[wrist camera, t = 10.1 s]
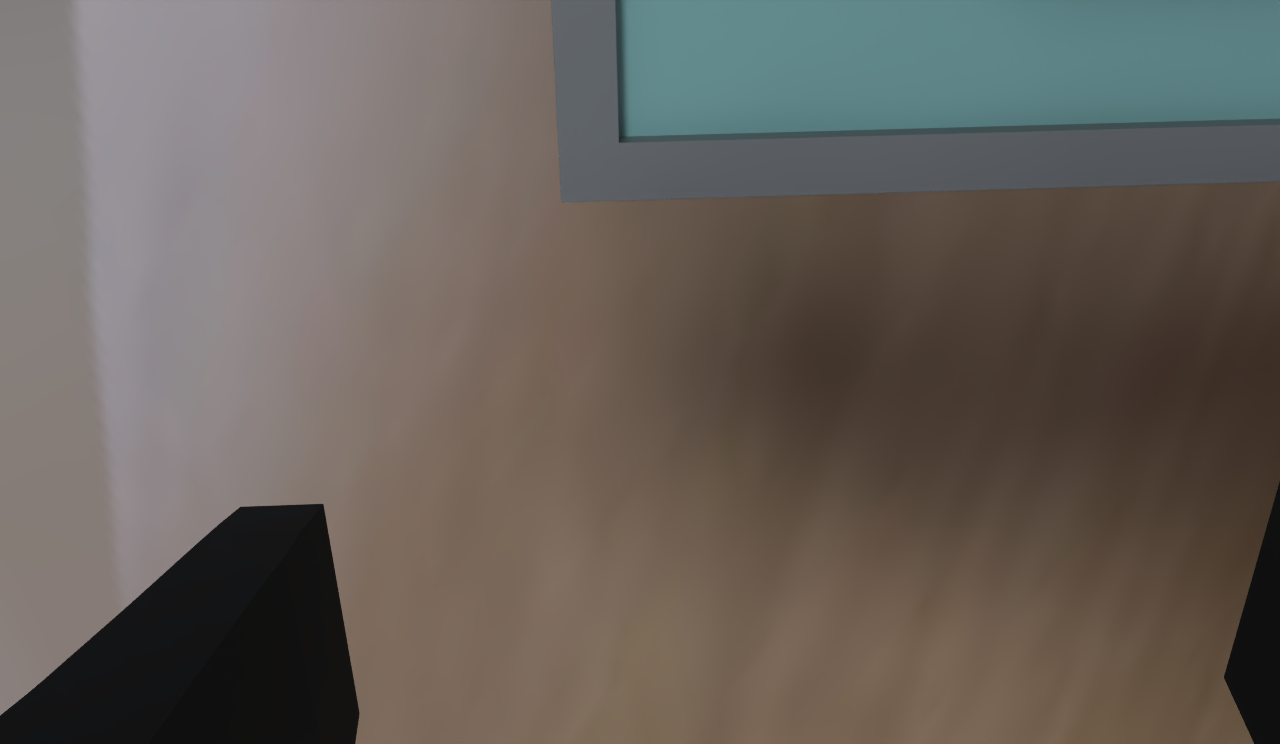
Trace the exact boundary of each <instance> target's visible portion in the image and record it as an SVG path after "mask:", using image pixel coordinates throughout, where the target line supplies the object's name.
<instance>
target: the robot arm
mask: <svg viewBox="0 0 1280 744" xmlns="http://www.w3.org/2000/svg"><path fill="white" fill-rule="evenodd" d="M1224 679H1225V681H1226V683H1227V685H1228V687H1229V690H1230V692H1231V694H1232V696H1233V698H1234V701H1235V703H1236V705H1237V707H1238V709H1239V711H1240V714H1241V716H1242V718H1243V720H1244V722H1245V725H1246V727H1247V729H1248V731H1249V733H1250V735H1251V738H1252V740H1253V742H1254V744H1280V483H1279V486H1278V490H1277V493H1276V497H1275V500H1274V504H1273V507H1272V511H1271V514H1270V518H1269V521H1268V525H1267V528H1266V532H1265V535H1264V539H1263V542H1262V546H1261V549H1260V553H1259V556H1258V560H1257V563H1256V567H1255V570H1254V574H1253V577H1252V581H1251V584H1250V588H1249V591H1248V595H1247V598H1246V602H1245V605H1244V609H1243V612H1242V616H1241V619H1240V623H1239V626H1238V630H1237V633H1236V637H1235V640H1234V644H1233V647H1232V651H1231V654H1230V658H1229V661H1228V665H1227V668H1226V672H1225V675H1224ZM358 720H359V708H358V702H357V696H356V691H355V685H354V679H353V673H352V667H351V662H350V656H349V650H348V644H347V638H346V633H345V627H344V621H343V615H342V610H341V604H340V598H339V592H338V586H337V581H336V575H335V569H334V563H333V557H332V552H331V546H330V540H329V534H328V528H327V523H326V517H325V511H324V505H323V504H308V505H280V506H253V507H240V508H239V509H237V510H236V511H235V512H234V513H232V514H231V515H230V516H229V517H227V518H226V519H225V520H224V521H223V522H221V523H220V524H219V525H218V526H217V527H216V528H214V529H213V530H212V531H211V532H210V533H209V534H208V535H206V536H205V537H204V538H203V539H202V540H201V541H200V542H199V543H197V544H196V545H195V546H194V547H193V548H192V549H191V550H190V551H188V552H187V553H186V554H185V555H184V556H183V557H182V558H181V559H180V560H178V561H177V562H176V563H175V564H174V565H173V566H172V567H171V568H170V569H169V570H167V571H166V572H165V573H164V574H163V575H162V576H161V577H160V578H159V579H157V580H156V581H155V582H154V583H153V584H152V585H151V586H150V587H149V588H147V589H146V590H145V591H144V592H143V593H142V594H141V595H140V596H139V597H137V598H136V599H135V600H134V601H133V602H132V603H131V604H130V605H129V606H127V607H126V608H125V609H124V610H123V611H122V612H121V613H120V614H118V615H117V616H116V617H115V618H114V619H113V620H112V621H110V622H109V623H108V624H107V625H106V626H105V627H104V628H102V629H101V630H100V631H99V632H98V633H97V634H96V635H94V636H93V637H92V638H91V639H90V640H89V641H88V642H86V643H85V644H84V645H83V646H82V647H81V648H80V649H79V650H77V651H76V652H75V653H74V654H73V655H72V656H70V657H69V658H68V659H67V660H66V661H65V662H64V663H62V664H61V665H60V666H59V667H58V668H57V669H56V670H54V672H52V673H51V674H50V675H49V676H48V677H46V679H44V680H43V681H42V682H41V683H40V684H38V685H37V686H36V687H35V688H34V689H32V690H31V691H30V692H29V693H28V694H27V695H25V696H24V697H23V698H22V699H20V700H19V701H18V702H17V703H15V704H14V705H13V706H12V707H10V708H9V709H8V710H7V711H5V712H4V713H3V714H2V715H1V716H0V744H355V741H356V734H357V727H358Z"/></svg>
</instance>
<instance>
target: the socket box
mask: <svg viewBox="0 0 1280 744" xmlns="http://www.w3.org/2000/svg"><path fill="white" fill-rule="evenodd" d="M551 8H552V27H553V47H554V67H555V87H556V106H557V126H558V146H559V166H560V186H561V202H593V201H627V200H661V199H695V198H730V197H764V196H798V195H833V194H867V193H901V192H936V191H970V190H1004V189H1038V188H1073V187H1107V186H1141V185H1176V184H1210V183H1244V182H1278V181H1280V0H551Z"/></svg>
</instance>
